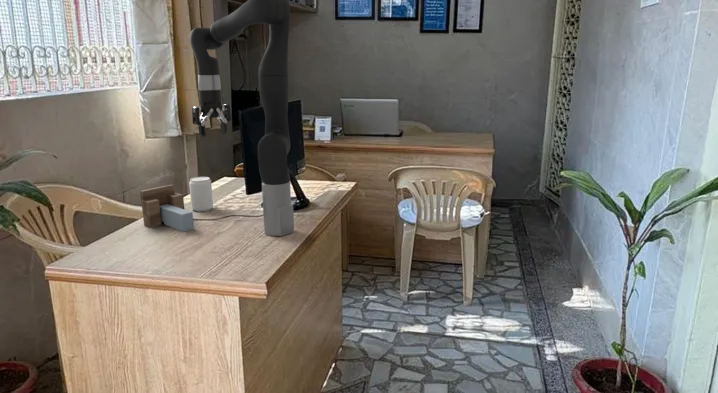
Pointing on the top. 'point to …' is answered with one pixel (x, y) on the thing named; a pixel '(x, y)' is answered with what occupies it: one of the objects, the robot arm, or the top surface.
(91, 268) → the top surface
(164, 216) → the grey rectangular block
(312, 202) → the top surface
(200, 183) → the beverage can
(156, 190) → the headboard
